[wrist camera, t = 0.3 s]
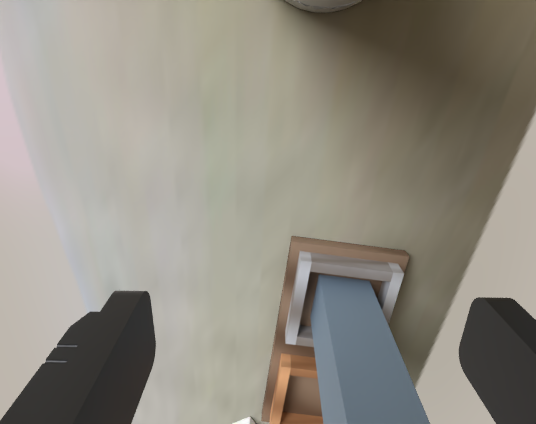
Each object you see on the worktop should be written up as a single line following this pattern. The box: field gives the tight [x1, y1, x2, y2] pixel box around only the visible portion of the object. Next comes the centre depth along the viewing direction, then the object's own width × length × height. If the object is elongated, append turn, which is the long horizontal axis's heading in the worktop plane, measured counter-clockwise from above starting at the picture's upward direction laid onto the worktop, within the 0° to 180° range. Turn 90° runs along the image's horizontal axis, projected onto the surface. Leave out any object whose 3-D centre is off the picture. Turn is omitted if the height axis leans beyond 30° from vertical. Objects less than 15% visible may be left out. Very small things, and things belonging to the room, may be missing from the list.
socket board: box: [262, 236, 409, 424], centre depth 31 cm, size 19×9×2 cm, turn 173°
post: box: [310, 274, 430, 424], centre depth 23 cm, size 4×4×14 cm
